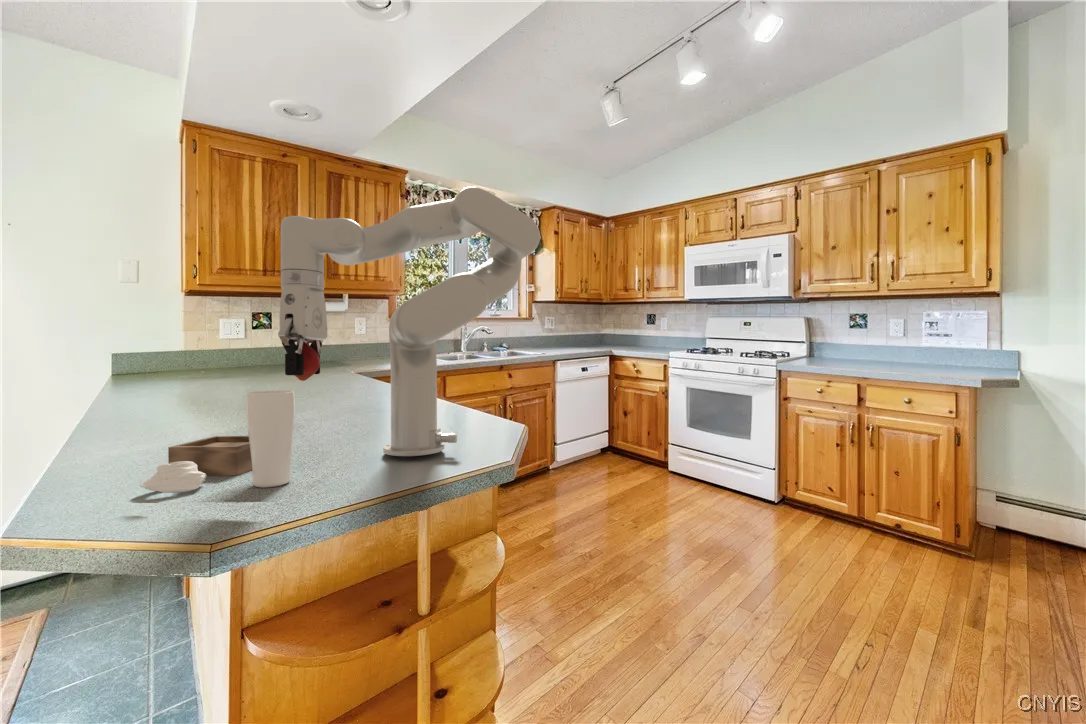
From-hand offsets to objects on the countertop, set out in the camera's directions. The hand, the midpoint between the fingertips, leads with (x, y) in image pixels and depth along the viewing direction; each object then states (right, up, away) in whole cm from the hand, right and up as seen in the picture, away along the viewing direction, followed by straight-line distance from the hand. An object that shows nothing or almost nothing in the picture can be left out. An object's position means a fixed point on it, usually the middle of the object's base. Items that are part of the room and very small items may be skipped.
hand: (303, 373), depth 91 cm
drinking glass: (+3, -18, -16) cm, 24 cm away
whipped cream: (-10, -18, -20) cm, 28 cm away
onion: (0, -2, 0) cm, 2 cm away
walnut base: (-13, -18, -4) cm, 22 cm away
